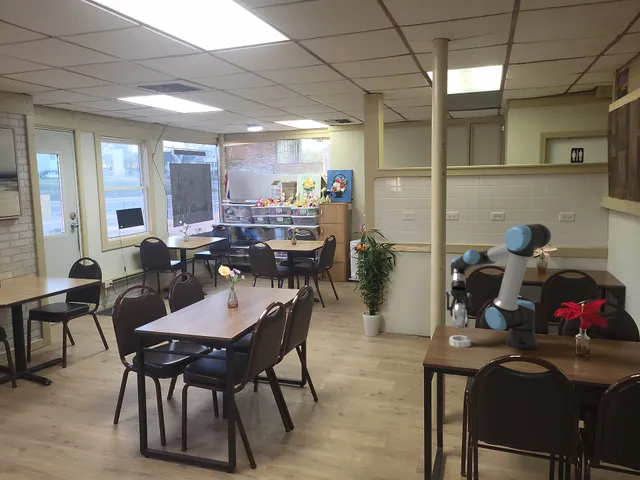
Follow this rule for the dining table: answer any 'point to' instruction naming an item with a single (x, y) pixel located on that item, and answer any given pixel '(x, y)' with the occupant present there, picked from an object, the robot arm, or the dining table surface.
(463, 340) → the socket
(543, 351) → the dining table surface
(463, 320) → the metal cylinder
